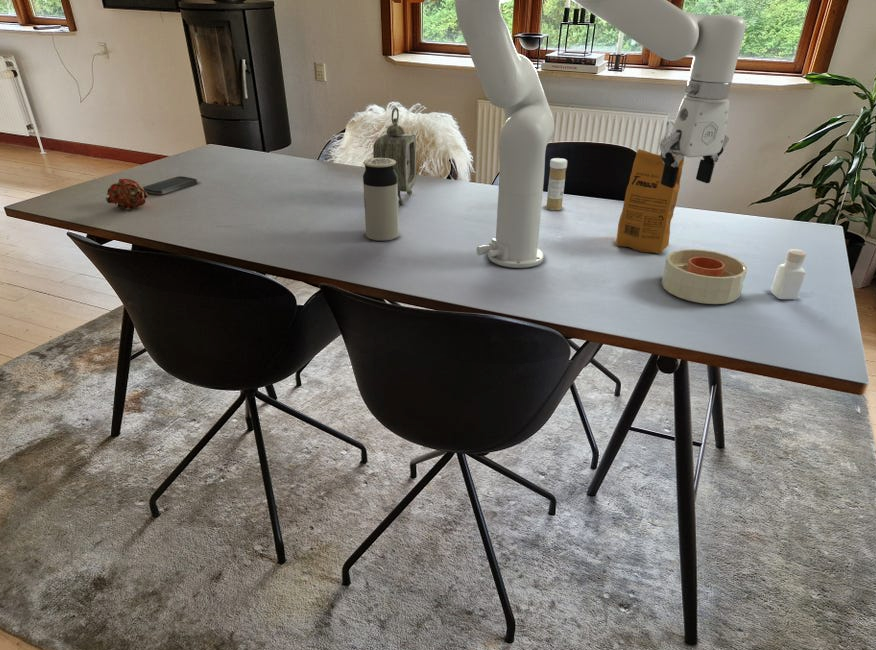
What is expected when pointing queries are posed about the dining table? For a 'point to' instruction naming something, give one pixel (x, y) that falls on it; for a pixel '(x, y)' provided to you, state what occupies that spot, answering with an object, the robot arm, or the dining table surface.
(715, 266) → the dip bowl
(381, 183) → the travel mug
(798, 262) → the pepper shaker
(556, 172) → the sprinkles bottle
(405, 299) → the dining table surface
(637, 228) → the coffee package
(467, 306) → the dining table surface
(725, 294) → the serving bowl
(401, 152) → the weathered lantern
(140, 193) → the brown knobby oval lump
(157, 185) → the phone
